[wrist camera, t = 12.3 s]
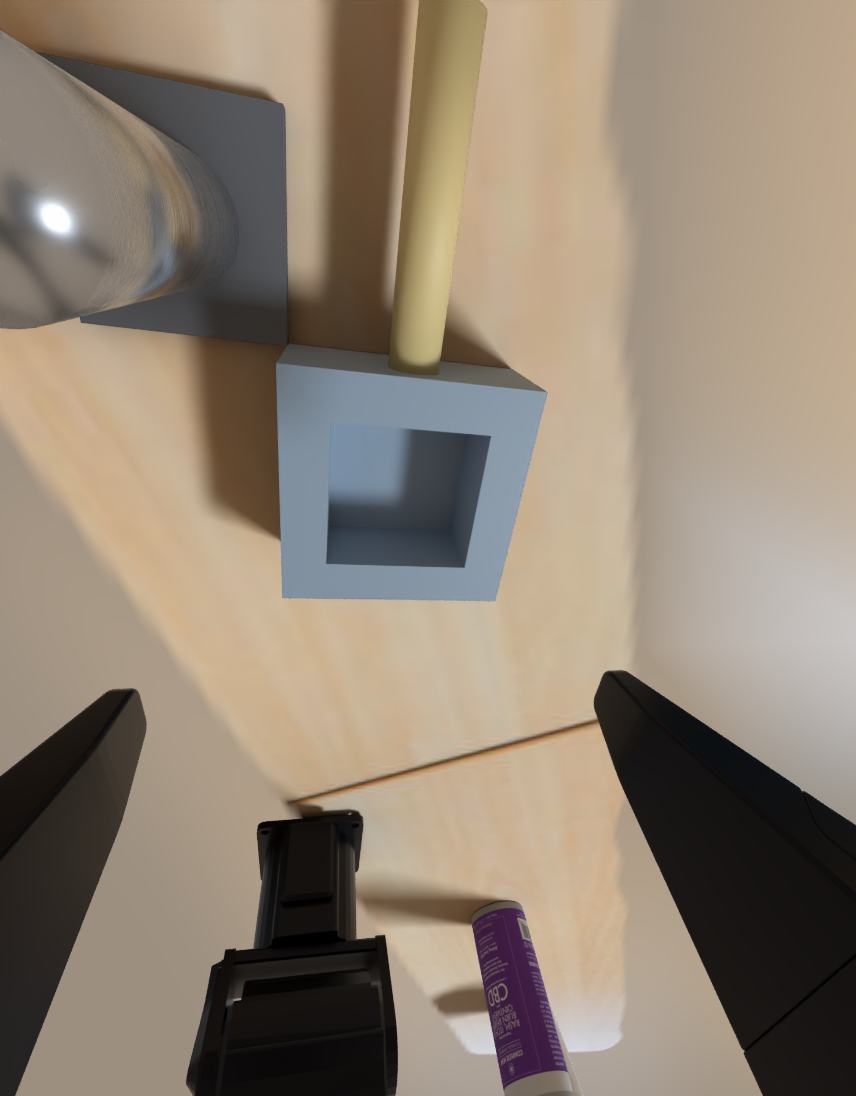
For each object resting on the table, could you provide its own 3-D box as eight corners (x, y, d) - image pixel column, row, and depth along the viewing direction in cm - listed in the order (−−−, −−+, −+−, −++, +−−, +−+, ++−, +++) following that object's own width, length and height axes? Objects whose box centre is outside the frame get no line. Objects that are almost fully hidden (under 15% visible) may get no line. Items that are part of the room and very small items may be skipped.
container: (480, 902, 40) (543, 1198, 27) (530, 899, 41) (612, 1182, 29) (464, 928, 42) (515, 1214, 30) (512, 925, 44) (581, 1198, 31)
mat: (288, 343, 16) (286, 346, 16) (90, 320, 15) (81, 322, 14) (285, 109, 13) (282, 103, 13) (36, 57, 12) (22, 49, 11)
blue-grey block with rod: (473, 552, 22) (495, 600, 19) (291, 546, 20) (282, 598, 17) (573, 78, 14) (639, 26, 11) (283, 6, 12) (263, -79, 9)
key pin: (243, 294, 15) (132, 342, 7) (121, 279, 14) (-142, 313, 6) (234, 154, 13) (74, 17, 5) (94, 129, 12) (-309, -66, 5)
